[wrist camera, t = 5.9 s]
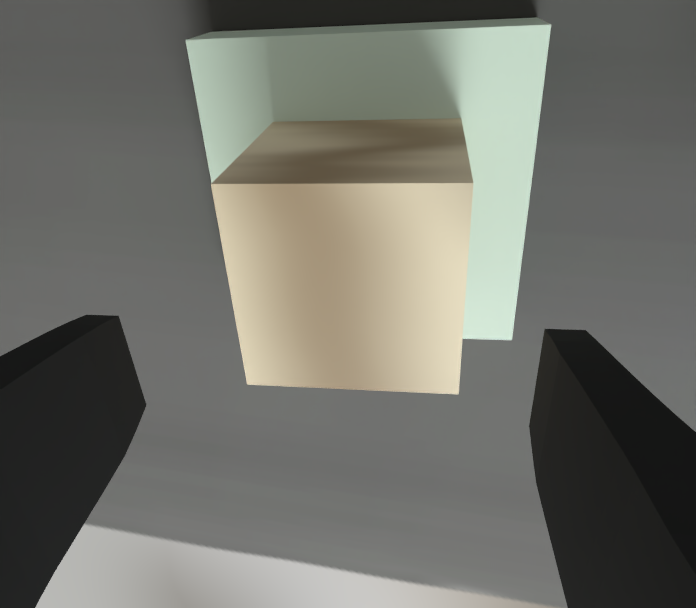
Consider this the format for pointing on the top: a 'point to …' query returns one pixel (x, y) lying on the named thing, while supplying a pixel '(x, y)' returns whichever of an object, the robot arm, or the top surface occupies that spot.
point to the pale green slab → (398, 114)
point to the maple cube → (349, 253)
